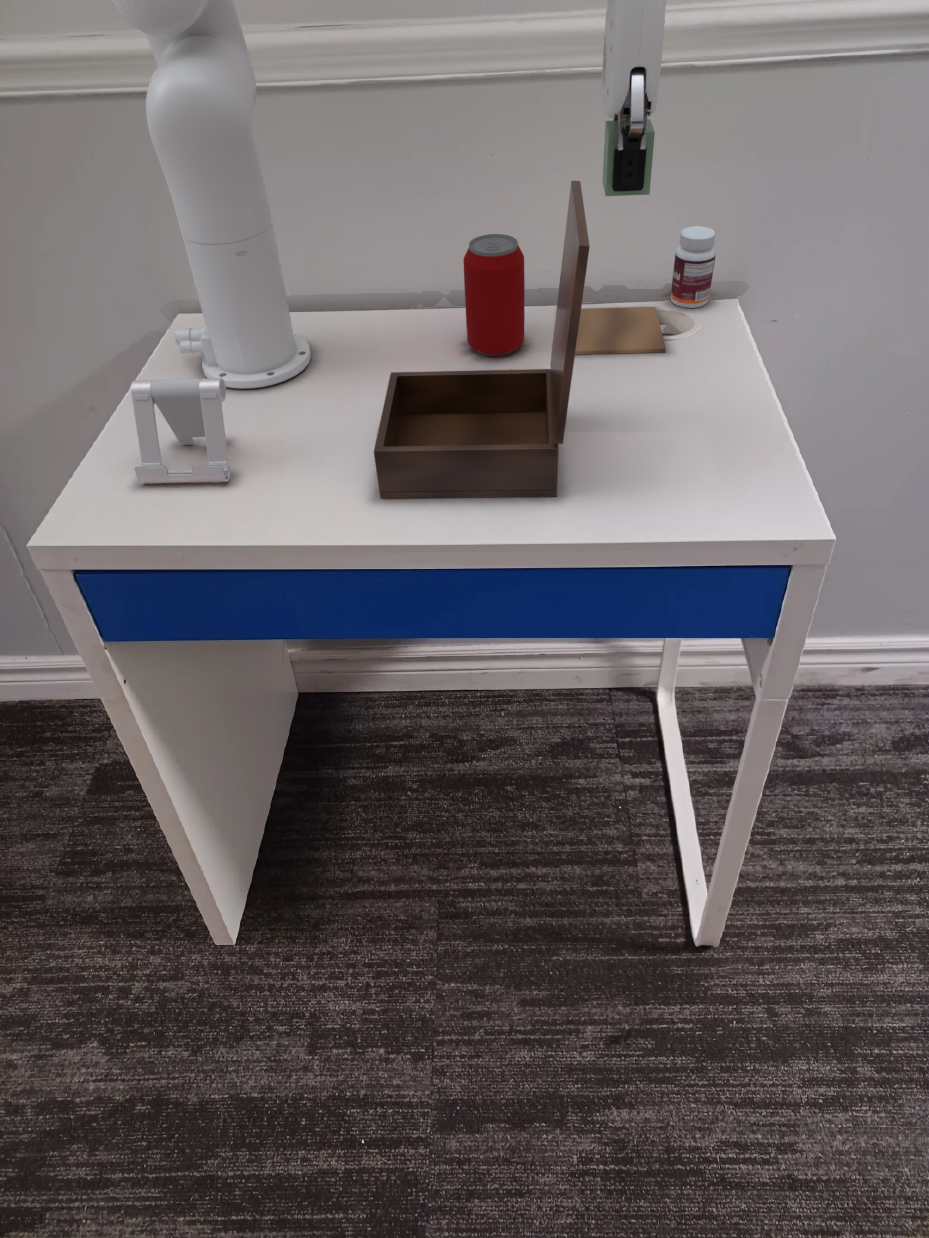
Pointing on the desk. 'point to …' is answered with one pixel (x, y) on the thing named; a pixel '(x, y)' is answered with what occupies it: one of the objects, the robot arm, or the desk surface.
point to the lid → (568, 308)
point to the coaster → (619, 331)
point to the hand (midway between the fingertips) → (625, 179)
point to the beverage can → (494, 294)
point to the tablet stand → (181, 427)
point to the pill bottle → (693, 267)
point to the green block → (609, 147)
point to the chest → (467, 435)
